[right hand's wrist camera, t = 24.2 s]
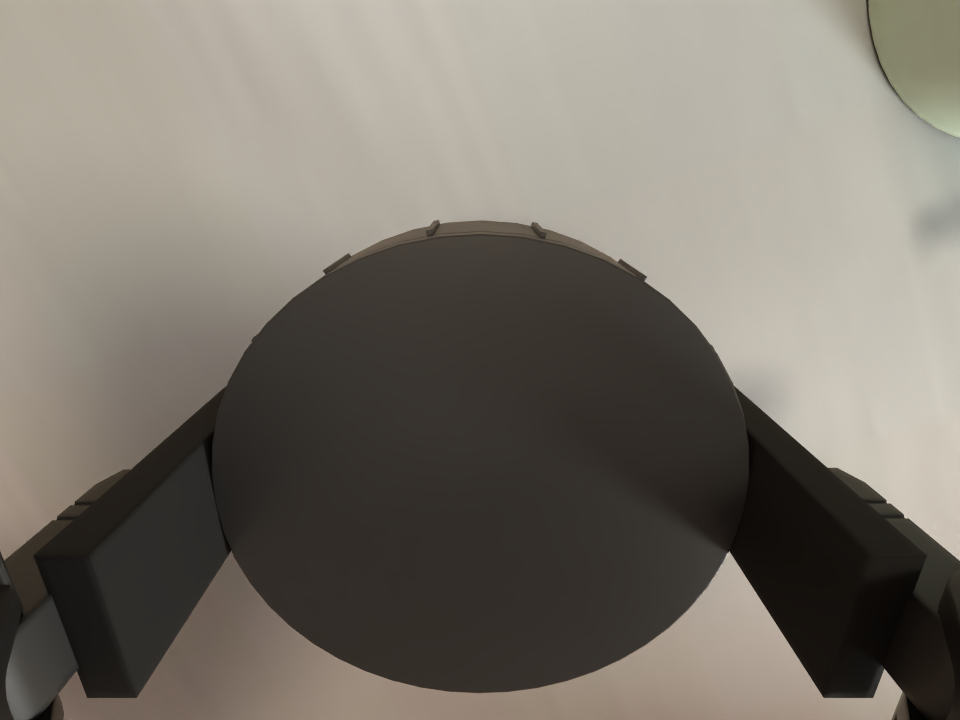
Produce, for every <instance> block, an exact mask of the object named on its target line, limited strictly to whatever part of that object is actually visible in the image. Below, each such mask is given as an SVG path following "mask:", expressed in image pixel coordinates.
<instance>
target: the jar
mask: <svg viewBox="0 0 960 720" xmlns="http://www.w3.org/2000/svg"><path fill="white" fill-rule="evenodd" d="M868 4H869V18H870V24H871V30H872V36H873V41H874V44H875V48H876V51H877V54H878V57H879V60H880V63H881V65H882V67H883V69H884V72H885V74H886V76H887V78H888V80H889V82H890V84H891V85H892V87H893V88H894V89H895V91H896V92H897V94H898V95H899V96H900V98H901V99H902V101H903V102H904V103H905V104H906V105H907V106H908V107H909V108H910V109H911V110H912V111H913V112H914V113H915V114H916V115H918V116H919V117H920V118H922V119H923V120H925V121H926V122H928V123H929V124H931V125H932V126H933V127H935V128H937V129H939V130H941V131H944V132H946V133H948V134H950V135H952V136H955V137H959V138H960V0H868Z"/></svg>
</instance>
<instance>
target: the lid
mask: <svg viewBox="0 0 960 720" xmlns="http://www.w3.org/2000/svg"><path fill="white" fill-rule="evenodd" d="M323 272H324V273H325V274H326V275H325V276H323V277H322V278H320V279H319V280H318V281H316V282H315V283H313V284H312V285H311V286H309V287H308V288H306V289H305V290H304V291H302V292H301V293H299V294H298V295H297V296H295V297H294V298H293V299H292V300H291V301H290V302H288V303H287V304H286V305H285V306H284V307H283V308H282V309H281V310H280V311H279V312H278V313H277V314H276V315H275V316H274V317H273V318H272V319H271V320H270V321H269V322H268V323H266V325H265V326H264V327H263V329H262V330H261V331H260V333H259V334H257V335H256V336H255V337H254V338H253V339H252V343H251V344H250V346H249V347H248V348H247V349H246V351H245V352H244V354H243V356H242V358H241V360H240V361H239V363H238V365H237V367H236V369H235V371H234V372H233V374H232V376H231V378H230V380H229V382H228V385H227V387H226V390H225V393H224V396H223V399H222V401H221V404H220V407H219V410H218V413H217V419H216V424H215V430H214V435H213V440H212V463H211V476H212V484H213V492H214V498H215V503H216V507H217V512H218V516H219V519H220V523H221V526H222V530H223V533H224V535H225V537H226V539H227V542H228V544H229V546H230V548H231V551H232V553H233V555H234V557H235V559H236V561H237V562H238V564H239V566H240V567H241V569H242V570H243V572H244V574H245V575H246V577H247V578H248V580H249V582H250V583H251V585H252V586H253V587H254V588H255V589H256V591H257V592H258V593H259V594H260V596H261V597H262V598H263V599H264V600H265V602H266V603H267V604H268V605H269V606H270V607H271V608H272V609H273V610H274V611H275V612H276V613H277V614H278V615H279V616H280V617H281V618H282V619H283V620H284V621H285V622H286V623H287V624H288V625H290V626H291V627H292V628H293V629H295V630H296V631H297V632H299V633H300V634H301V635H303V636H304V637H305V638H307V639H308V640H309V641H311V642H312V643H313V644H315V645H317V646H318V647H320V648H322V649H323V650H325V651H327V652H328V653H330V654H332V655H333V656H335V657H337V658H338V659H340V660H343V661H345V662H347V663H349V664H351V665H353V666H356V667H358V668H360V669H362V670H364V671H367V672H370V673H373V674H375V675H378V676H381V677H384V678H387V679H390V680H393V681H397V682H401V683H405V684H409V685H413V686H417V687H422V688H429V689H436V690H443V691H450V692H469V693H491V692H510V691H518V690H525V689H532V688H539V687H543V686H547V685H552V684H556V683H560V682H564V681H568V680H571V679H574V678H577V677H580V676H583V675H586V674H589V673H592V672H594V671H597V670H599V669H601V668H603V667H605V666H608V665H610V664H612V663H614V662H616V661H619V660H621V659H622V658H624V657H626V656H628V655H629V654H631V653H633V652H634V651H636V650H638V649H639V648H641V647H643V646H645V645H646V644H648V643H649V642H650V641H652V640H653V639H654V638H656V637H657V636H658V635H660V634H661V633H662V632H664V631H665V630H666V629H668V628H669V627H670V626H671V625H672V624H673V623H674V622H675V621H677V620H678V619H679V618H680V617H681V616H682V615H683V614H684V613H685V612H686V611H687V610H688V609H689V608H690V607H691V606H692V605H693V604H694V603H695V601H696V600H697V599H698V598H699V597H700V595H701V594H702V593H703V592H704V591H705V589H706V588H707V587H708V586H709V584H710V583H711V581H712V580H713V578H714V577H715V575H716V573H717V572H718V570H719V569H720V567H721V566H722V564H723V562H724V561H725V559H726V557H727V554H728V552H729V550H730V548H731V546H732V544H733V541H734V539H735V537H736V535H737V532H738V528H739V525H740V522H741V518H742V515H743V511H744V506H745V501H746V496H747V490H748V483H749V443H748V437H747V432H746V426H745V420H744V414H743V411H742V408H741V405H740V403H739V400H738V397H737V394H736V391H735V388H734V385H733V383H732V381H731V379H730V377H729V375H728V373H727V371H726V369H725V368H724V366H723V364H722V362H721V360H720V358H719V356H718V354H717V353H716V352H715V349H714V348H713V346H712V345H710V344H709V342H708V341H707V340H706V338H705V337H704V336H703V334H702V333H701V332H700V330H699V329H698V328H697V326H696V325H695V324H694V323H693V322H692V321H691V320H690V319H689V318H688V317H687V316H686V315H685V314H684V313H683V312H682V311H680V310H679V309H678V308H677V307H676V306H675V305H674V304H673V303H672V302H671V301H670V300H669V299H668V298H666V297H665V296H664V295H662V294H661V293H659V292H658V291H657V290H655V289H654V288H652V287H651V286H650V285H648V284H647V283H646V282H644V281H645V280H646V278H647V277H646V276H645V275H643V274H642V273H641V272H639V271H638V270H636V269H635V268H633V267H632V266H630V265H629V264H627V263H626V262H624V261H623V260H621V259H620V260H619V261H618V262H616V261H615V260H614V259H612V258H611V257H609V256H607V255H605V254H604V253H602V252H600V251H598V250H596V249H594V248H592V247H590V246H588V245H586V244H585V243H583V242H581V241H578V240H575V239H572V238H570V237H567V236H564V235H561V234H558V233H556V232H553V231H550V230H546V229H542V228H541V227H540V226H539V225H538V223H534V222H532V225H531V226H527V225H522V224H517V223H507V222H493V221H468V222H452V223H444V224H440V223H439V220H437V221H434V222H433V223H432V224H431V225H430V226H429V227H424V228H419V229H414V230H411V231H408V232H405V233H402V234H399V235H397V236H394V237H391V238H388V239H385V240H382V241H380V242H378V243H376V244H374V245H372V246H370V247H369V248H367V249H365V250H363V251H361V252H359V253H357V254H355V255H353V256H350V254H349V253H348V254H347V255H345V256H344V257H342V258H341V259H339V260H338V261H336V262H335V263H333V264H332V265H330V266H329V267H327V268H326V269H325V270H323Z"/></svg>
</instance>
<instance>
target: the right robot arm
mask: <svg viewBox="0 0 960 720" xmlns="http://www.w3.org/2000/svg"><path fill="white" fill-rule="evenodd" d="M226 387H227V386H226ZM226 387H225V388H224V389H222V390H221V391H220V392H219V393H218V394H217V395H216V396H214V397H213V398H212V399H211V400H210V401H209V402H208V403H206V404H205V405H204V406H203V407H202V408H201V409H200V410H198V411H197V412H196V413H195V414H194V415H193V416H192V417H190V418H189V419H188V420H187V421H186V422H185V423H184V424H183V425H181V426H180V427H179V428H178V429H177V430H176V431H175V432H173V433H172V434H171V435H170V436H169V437H168V438H167V439H165V440H164V441H163V442H162V443H161V444H160V445H159V446H157V447H156V448H155V449H154V450H153V451H152V452H151V453H149V454H148V455H147V456H146V457H145V458H144V459H143V460H141V461H140V462H139V463H138V464H137V465H136V466H135V467H133V468H132V469H131V470H122V471H120V472H118V473H117V474H115V475H113V476H111V477H109V478H107V479H105V480H103V481H101V482H100V483H98V484H96V485H95V486H93V487H92V488H91V489H90V490H89V491H87V492H86V493H85V494H84V495H83V496H81V497H80V498H79V499H78V500H77V501H75V505H71V506H69V507H68V508H67V509H66V510H65V511H63V512H62V513H61V514H60V515H59V516H57V520H53V521H51V522H50V523H49V524H48V525H47V526H45V527H44V528H43V529H42V530H41V531H39V532H38V533H37V534H36V535H35V536H34V537H32V538H31V539H30V540H29V541H28V542H26V543H25V544H24V545H23V546H22V547H20V548H19V549H18V550H17V551H16V552H14V553H13V554H12V555H11V556H10V557H8V558H7V559H6V560H5V561H4V560H3V557H2V555H1V552H0V720H63V717H64V713H63V707H62V702H61V700H60V698H59V695H58V693H59V692H60V691H61V689H62V688H63V687H64V686H65V684H66V683H67V682H68V681H69V679H70V678H71V677H72V676H73V674H74V673H75V672H76V671H77V672H78V675H79V677H80V680H81V682H82V685H83V688H84V690H85V693H86V696H87V698H137V696H138V695H139V693H140V692H141V690H142V689H143V687H144V685H145V684H146V682H147V681H148V679H149V678H150V676H151V675H152V673H153V671H154V670H155V668H156V667H157V665H158V664H159V662H160V661H161V659H162V657H163V656H164V654H165V653H166V651H167V650H168V648H169V647H170V645H171V643H172V642H173V640H174V639H175V637H176V636H177V634H178V633H179V631H180V629H181V628H182V626H183V625H184V623H185V622H186V620H187V619H188V617H189V615H190V614H191V612H192V611H193V609H194V608H195V606H196V605H197V603H198V601H199V600H200V598H201V597H202V595H203V594H204V592H205V591H206V589H207V587H208V586H209V584H210V583H211V581H212V580H213V578H214V577H215V575H216V573H217V572H218V570H219V569H220V567H221V566H222V564H223V563H224V561H225V559H226V558H227V556H228V555H229V553H230V552H231V548H230V546H229V544H228V542H227V539H226V537H225V535H224V533H223V530H222V526H221V523H220V519H219V516H218V512H217V507H216V503H215V498H214V492H213V484H212V476H211V463H212V440H213V435H214V430H215V424H216V419H217V413H218V410H219V407H220V404H221V401H222V399H223V396H224V393H225V390H226ZM734 388H735V391H736V394H737V397H738V400H739V403H740V405H741V408H742V411H743V414H744V420H745V426H746V432H747V437H748V443H749V483H748V490H747V496H746V501H745V506H744V511H743V515H742V518H741V522H740V525H739V528H738V532H737V535H736V537H735V539H734V541H733V544H732V546H731V548H730V550H729V551H730V553H731V554H732V556H733V557H734V559H735V560H736V562H737V564H738V565H739V567H740V568H741V570H742V571H743V573H744V574H745V576H746V578H747V579H748V581H749V582H750V584H751V585H752V587H753V588H754V590H755V592H756V593H757V595H758V596H759V598H760V599H761V601H762V602H763V604H764V606H765V607H766V609H767V610H768V612H769V613H770V615H771V616H772V618H773V620H774V621H775V623H776V624H777V626H778V627H779V629H780V630H781V632H782V634H783V635H784V637H785V638H786V640H787V641H788V643H789V644H790V646H791V648H792V649H793V651H794V652H795V654H796V655H797V657H798V658H799V660H800V662H801V663H802V665H803V666H804V668H805V669H806V671H807V672H808V674H809V676H810V677H811V679H812V680H813V682H814V683H815V685H816V686H817V688H818V690H819V691H820V693H821V694H822V696H823V697H824V698H873V697H874V694H875V692H876V689H877V686H878V684H879V681H880V678H881V676H882V673H883V671H884V668H885V670H886V671H887V672H888V673H889V675H890V676H891V677H892V678H893V680H894V681H895V682H896V683H897V685H898V686H899V687H900V688H901V690H902V691H903V693H902V695H901V698H900V700H899V702H898V705H897V707H896V710H895V712H894V715H893V717H892V720H960V561H959V560H958V559H957V558H955V557H954V556H953V555H952V554H951V553H949V552H948V551H947V550H946V549H945V548H943V547H942V546H941V545H940V544H939V543H937V542H936V541H935V540H934V539H933V538H931V537H930V536H929V535H928V534H926V533H925V532H924V531H923V530H922V529H920V528H919V527H918V526H917V525H916V524H914V523H913V522H912V521H911V520H910V519H905V518H904V514H902V513H901V512H900V511H899V510H898V509H896V508H895V507H894V506H893V505H892V504H887V503H886V500H885V499H884V498H883V497H882V496H881V495H879V494H878V493H877V492H876V491H875V490H873V489H872V488H871V487H870V486H869V485H867V484H866V483H865V482H863V481H861V480H859V479H857V478H855V477H853V476H851V475H850V474H848V473H846V472H844V471H842V470H840V469H838V468H827V467H826V466H825V465H823V464H822V463H821V462H820V461H819V460H818V459H817V458H816V457H814V456H813V455H812V454H811V453H810V452H809V451H808V450H806V449H805V448H804V447H803V446H802V445H801V444H800V443H798V442H797V441H796V440H795V439H794V438H793V437H792V436H790V435H789V434H788V433H787V432H786V431H785V430H784V429H782V428H781V427H780V426H779V425H778V424H777V423H776V422H774V421H773V420H772V419H771V418H770V417H769V416H768V415H766V414H765V413H764V412H763V411H762V410H761V409H760V408H758V407H757V406H756V405H755V404H754V403H753V402H752V401H751V400H749V399H748V398H747V397H746V396H745V395H744V394H743V393H741V392H740V391H739V390H738V389H737V388H736V387H735V386H734Z"/></svg>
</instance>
